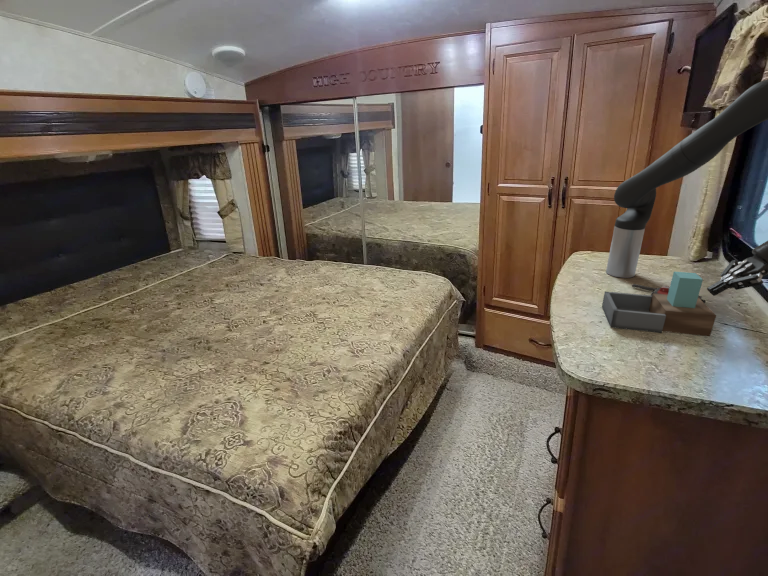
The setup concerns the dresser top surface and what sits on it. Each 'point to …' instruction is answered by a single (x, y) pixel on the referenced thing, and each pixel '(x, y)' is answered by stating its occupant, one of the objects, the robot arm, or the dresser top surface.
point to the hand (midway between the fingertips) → (710, 292)
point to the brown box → (683, 316)
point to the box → (631, 312)
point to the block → (684, 289)
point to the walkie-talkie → (658, 290)
